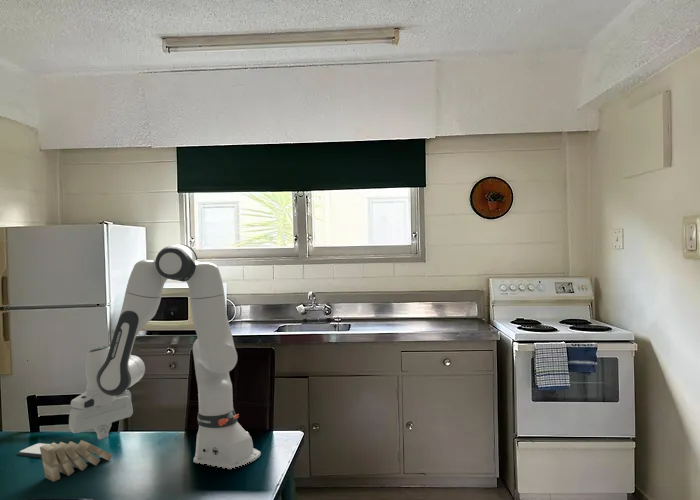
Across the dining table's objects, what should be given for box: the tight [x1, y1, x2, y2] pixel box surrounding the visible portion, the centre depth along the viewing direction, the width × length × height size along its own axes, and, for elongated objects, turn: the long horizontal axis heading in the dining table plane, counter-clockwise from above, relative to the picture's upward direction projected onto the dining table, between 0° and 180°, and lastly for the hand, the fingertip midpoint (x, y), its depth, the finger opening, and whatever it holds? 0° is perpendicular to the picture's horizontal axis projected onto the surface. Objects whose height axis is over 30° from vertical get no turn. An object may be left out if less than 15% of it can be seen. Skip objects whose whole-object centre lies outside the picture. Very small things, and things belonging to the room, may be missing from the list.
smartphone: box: [17, 442, 51, 459], centre depth 184 cm, size 9×2×16 cm
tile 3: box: [57, 441, 88, 472], centre depth 168 cm, size 2×5×10 cm
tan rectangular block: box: [78, 439, 113, 462], centre depth 174 cm, size 2×5×10 cm
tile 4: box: [49, 441, 75, 477], centre depth 165 cm, size 2×5×10 cm, turn 54°
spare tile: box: [40, 443, 61, 482], centre depth 162 cm, size 2×5×10 cm, turn 54°
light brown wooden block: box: [67, 440, 101, 467], centre depth 171 cm, size 2×5×10 cm
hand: (102, 437), depth 176 cm, fingers closed
